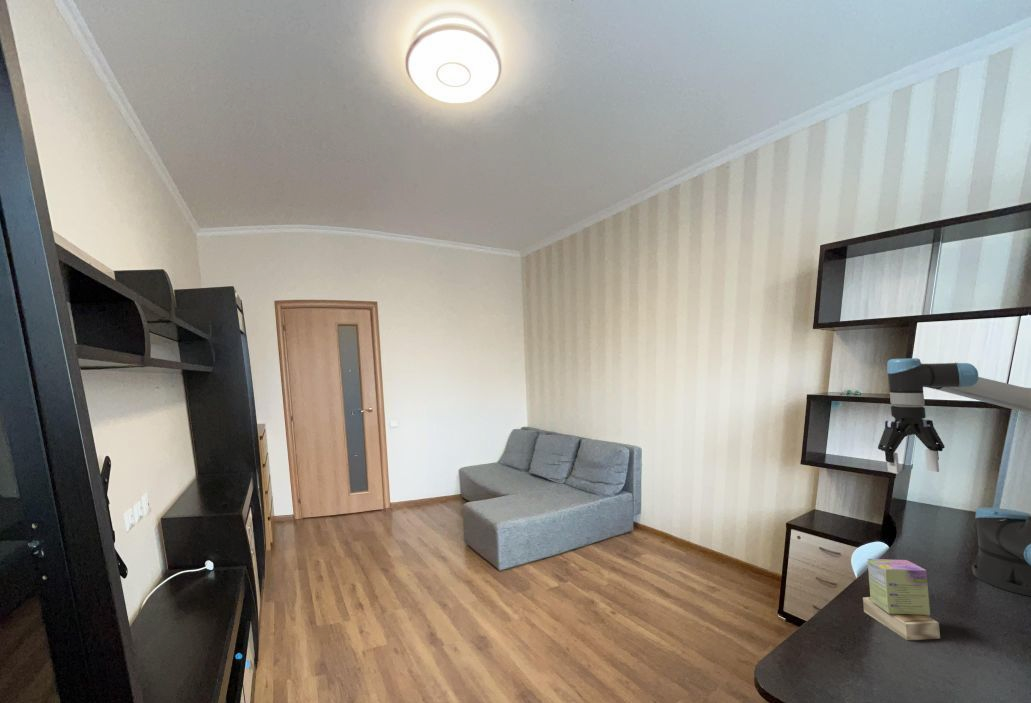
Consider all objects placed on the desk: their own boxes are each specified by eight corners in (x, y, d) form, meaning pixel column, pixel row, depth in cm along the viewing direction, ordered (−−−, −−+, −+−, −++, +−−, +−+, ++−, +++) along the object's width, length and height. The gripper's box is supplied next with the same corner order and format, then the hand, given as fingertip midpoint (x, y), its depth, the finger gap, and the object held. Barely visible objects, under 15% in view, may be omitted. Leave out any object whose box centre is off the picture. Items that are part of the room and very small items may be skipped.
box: (909, 602, 100) (906, 558, 101) (931, 615, 95) (927, 570, 95) (869, 600, 101) (866, 558, 102) (888, 614, 96) (885, 569, 96)
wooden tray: (893, 610, 103) (892, 594, 104) (940, 638, 92) (938, 621, 93) (863, 611, 103) (862, 596, 103) (907, 640, 92) (905, 623, 92)
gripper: (928, 403, 121) (935, 466, 119) (859, 405, 119) (864, 470, 118) (957, 405, 113) (964, 473, 112) (883, 408, 112) (889, 476, 110)
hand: (913, 471), depth 115 cm, fingers open, 13 cm apart
